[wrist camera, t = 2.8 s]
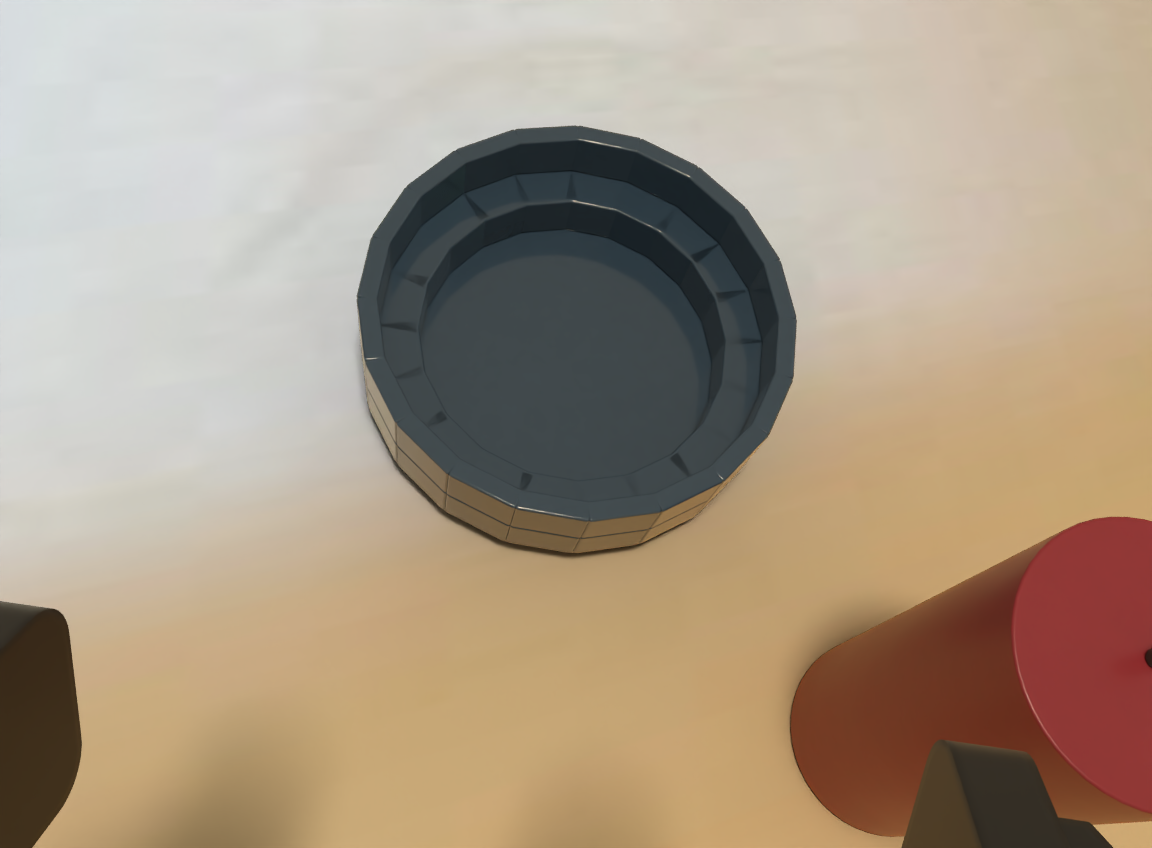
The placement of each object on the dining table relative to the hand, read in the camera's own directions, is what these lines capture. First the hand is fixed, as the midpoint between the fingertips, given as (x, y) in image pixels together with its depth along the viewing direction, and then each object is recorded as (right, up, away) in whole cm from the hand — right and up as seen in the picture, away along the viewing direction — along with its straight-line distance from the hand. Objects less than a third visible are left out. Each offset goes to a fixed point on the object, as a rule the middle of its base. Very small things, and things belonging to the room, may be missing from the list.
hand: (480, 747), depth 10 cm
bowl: (0, +5, +26) cm, 26 cm away
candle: (+10, -6, +23) cm, 26 cm away
